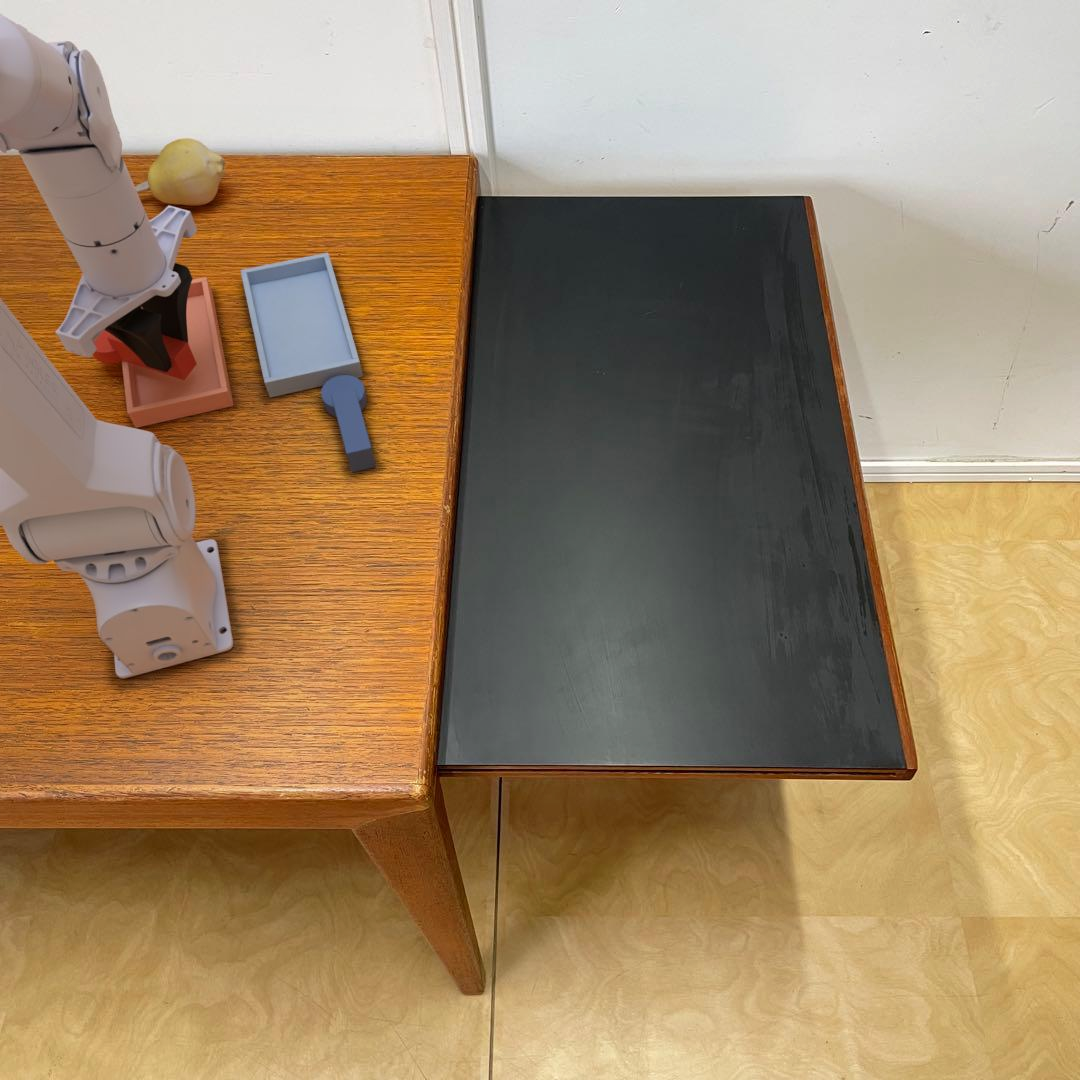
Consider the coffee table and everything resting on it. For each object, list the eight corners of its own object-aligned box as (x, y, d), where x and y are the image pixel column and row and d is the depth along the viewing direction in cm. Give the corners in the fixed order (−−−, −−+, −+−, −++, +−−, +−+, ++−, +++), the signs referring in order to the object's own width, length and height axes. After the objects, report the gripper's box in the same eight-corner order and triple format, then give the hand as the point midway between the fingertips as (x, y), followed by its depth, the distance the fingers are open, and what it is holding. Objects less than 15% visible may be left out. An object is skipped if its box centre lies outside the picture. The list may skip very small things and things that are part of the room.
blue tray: (363, 377, 79) (359, 361, 77) (269, 398, 77) (264, 382, 76) (331, 268, 86) (328, 252, 84) (245, 285, 84) (240, 269, 83)
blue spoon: (385, 464, 74) (381, 445, 72) (341, 475, 73) (336, 456, 71) (362, 381, 78) (357, 360, 76) (320, 391, 78) (314, 370, 76)
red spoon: (202, 357, 77) (193, 335, 75) (179, 387, 75) (169, 366, 73) (108, 327, 79) (96, 305, 76) (83, 356, 77) (70, 334, 75)
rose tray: (233, 406, 77) (227, 391, 75) (135, 428, 75) (127, 413, 74) (212, 292, 84) (206, 276, 82) (122, 310, 82) (114, 294, 81)
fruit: (133, 183, 92) (229, 154, 92) (145, 234, 90) (243, 205, 91) (103, 146, 86) (206, 115, 86) (116, 200, 85) (220, 168, 85)
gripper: (89, 304, 60) (160, 434, 71) (208, 170, 67) (254, 308, 78) (-1, 276, 61) (83, 408, 72) (124, 148, 68) (182, 287, 79)
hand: (167, 355), depth 75 cm, fingers closed on red spoon, 2 cm apart
